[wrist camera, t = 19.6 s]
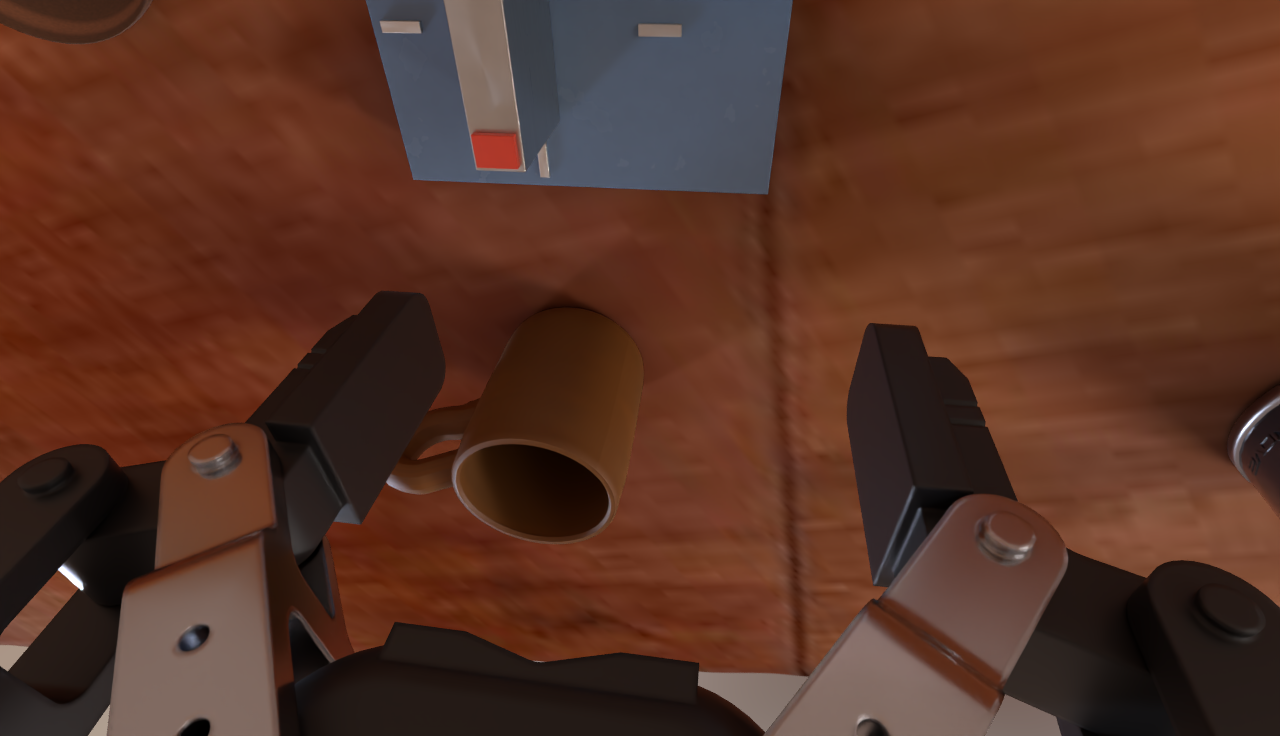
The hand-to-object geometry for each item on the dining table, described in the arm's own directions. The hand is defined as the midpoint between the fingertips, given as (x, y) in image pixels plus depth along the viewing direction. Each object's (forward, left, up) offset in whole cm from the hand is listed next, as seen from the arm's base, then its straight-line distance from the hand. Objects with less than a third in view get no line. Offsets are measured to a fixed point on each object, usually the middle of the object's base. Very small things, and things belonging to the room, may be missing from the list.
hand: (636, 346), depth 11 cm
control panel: (+4, -3, -16) cm, 17 cm away
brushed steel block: (+5, -3, -13) cm, 15 cm away
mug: (+8, +14, -17) cm, 23 cm away
